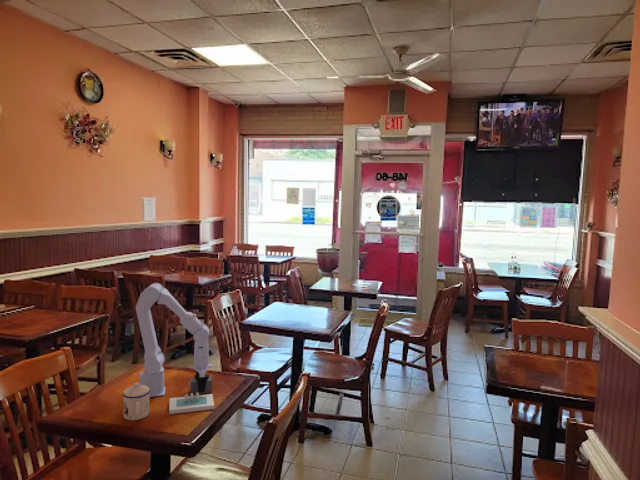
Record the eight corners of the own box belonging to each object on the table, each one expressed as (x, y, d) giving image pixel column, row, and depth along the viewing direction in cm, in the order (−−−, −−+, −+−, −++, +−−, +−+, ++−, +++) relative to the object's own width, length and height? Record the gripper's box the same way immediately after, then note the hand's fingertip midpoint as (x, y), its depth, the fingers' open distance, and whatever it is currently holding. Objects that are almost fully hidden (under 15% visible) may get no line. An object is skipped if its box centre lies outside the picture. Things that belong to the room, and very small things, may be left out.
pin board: (169, 414, 155) (169, 401, 155) (169, 402, 164) (169, 390, 164) (214, 409, 160) (214, 397, 160) (212, 397, 170) (212, 386, 169)
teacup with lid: (122, 411, 156) (122, 380, 155) (149, 407, 160) (149, 377, 159) (122, 427, 145) (122, 394, 144) (151, 422, 149) (151, 389, 148)
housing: (190, 394, 172) (190, 382, 171) (189, 390, 176) (190, 378, 175) (212, 392, 174) (212, 380, 174) (211, 388, 178) (211, 376, 178)
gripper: (212, 360, 168) (212, 394, 169) (210, 348, 182) (209, 379, 183) (194, 362, 166) (194, 396, 167) (193, 350, 180) (192, 381, 181)
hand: (201, 387), depth 175 cm, fingers open, 7 cm apart
